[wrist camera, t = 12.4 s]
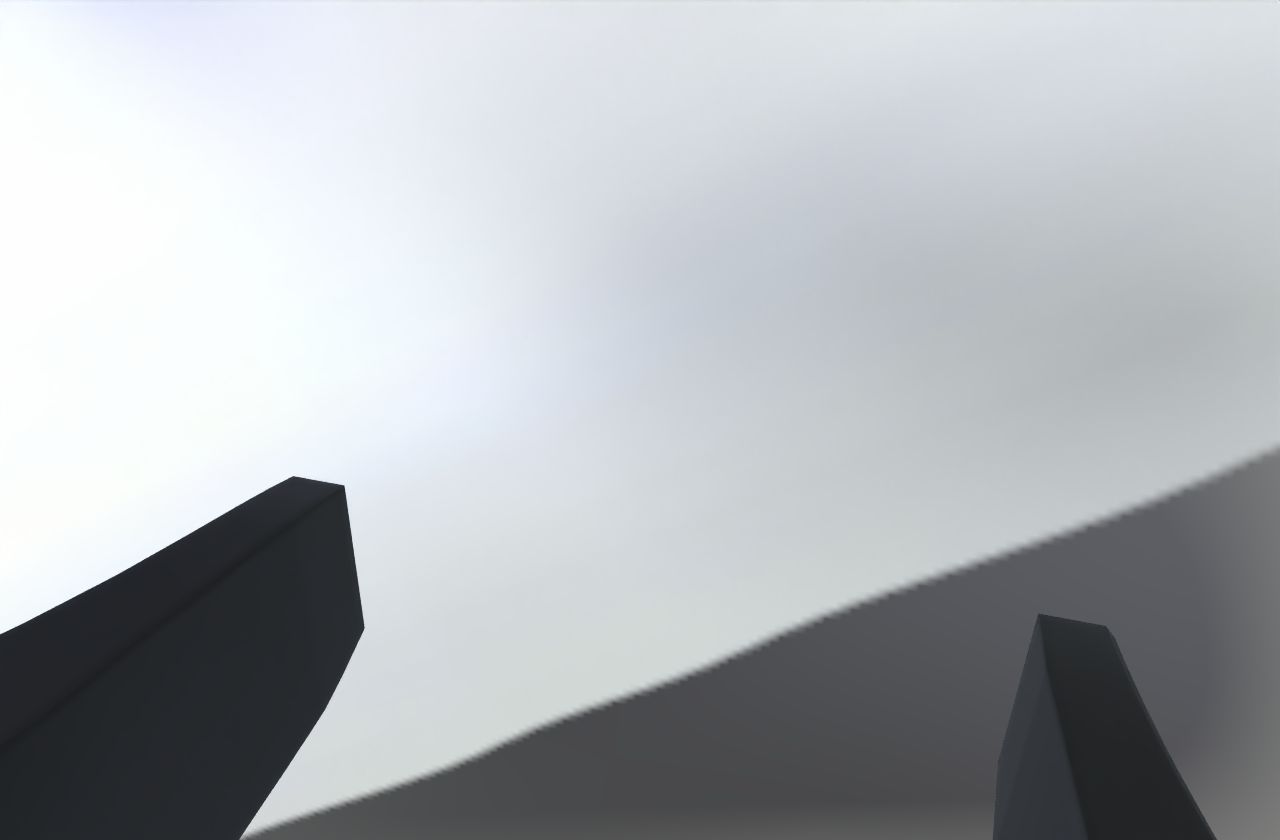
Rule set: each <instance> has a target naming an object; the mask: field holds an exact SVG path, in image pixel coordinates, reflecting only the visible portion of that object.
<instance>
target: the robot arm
mask: <svg viewBox="0 0 1280 840" xmlns="http://www.w3.org/2000/svg"><path fill="white" fill-rule="evenodd" d="M364 628H365V627H364V620H363V613H362V606H361V599H360V592H359V585H358V578H357V571H356V564H355V557H354V550H353V543H352V536H351V529H350V522H349V514H348V507H347V500H346V493H345V486H344V485H338V484H333V483H328V482H322V481H317V480H311V479H306V478H300V477H295V476H293V477H291V478H289V479H287V480H285V481H283V482H281V483H279V484H277V485H275V486H273V487H271V488H269V489H267V490H266V491H264V492H262V493H260V494H258V495H257V496H255V497H253V498H251V499H249V500H248V501H246V502H244V503H242V504H241V505H239V506H237V507H235V508H234V509H232V510H230V511H228V512H227V513H225V514H223V515H221V516H220V517H218V518H216V519H215V520H213V521H211V522H209V523H208V524H206V525H204V526H202V527H201V528H199V529H197V530H195V531H194V532H192V533H190V534H189V535H187V536H185V537H183V538H181V539H180V540H178V541H176V542H174V543H173V544H171V545H169V546H167V547H166V548H164V549H162V550H160V551H159V552H157V553H155V554H153V555H151V556H150V557H148V558H146V559H144V560H143V561H141V562H139V563H137V564H136V565H134V566H132V567H130V568H128V569H127V570H125V571H123V572H121V573H120V574H118V575H116V576H114V577H112V578H110V579H108V580H106V581H104V582H102V583H101V584H99V585H97V586H95V587H93V588H91V589H89V590H87V591H85V592H83V593H81V594H79V595H77V596H75V597H74V598H72V599H70V600H68V601H66V602H64V603H62V604H60V605H58V606H56V607H54V608H52V609H50V610H48V611H46V612H45V613H43V614H41V615H39V616H37V617H35V618H33V619H31V620H29V621H27V622H25V623H23V624H21V625H19V626H17V627H15V628H13V629H11V630H9V631H6V632H4V633H2V634H0V840H239V839H240V837H241V836H242V834H243V833H244V831H245V830H246V828H247V827H248V825H249V824H250V822H251V821H252V819H253V818H254V816H255V815H256V813H257V812H258V810H259V809H260V807H261V806H262V804H263V803H264V801H265V800H266V798H267V797H268V795H269V794H270V793H271V791H272V790H273V788H274V787H275V785H276V784H277V782H278V781H279V779H280V778H281V776H282V775H283V773H284V772H285V770H286V769H287V767H288V766H289V764H290V763H291V761H292V760H293V758H294V756H295V755H296V753H297V752H298V750H299V749H300V747H301V746H302V744H303V743H304V741H305V740H306V738H307V737H308V735H309V734H310V732H311V731H312V729H313V728H314V726H315V724H316V723H317V721H318V720H319V718H320V717H321V715H322V713H323V712H324V710H325V709H326V707H327V705H328V703H329V701H330V699H331V697H332V695H333V693H334V691H335V689H336V687H337V685H338V683H339V681H340V679H341V677H342V675H343V673H344V671H345V669H346V667H347V665H348V663H349V661H350V658H351V656H352V654H353V652H354V650H355V648H356V646H357V643H358V641H359V639H360V637H361V635H362V633H363V631H364ZM993 840H1217V839H1216V837H1215V836H1214V834H1213V832H1212V831H1211V829H1210V827H1209V825H1208V824H1207V822H1206V820H1205V818H1204V816H1203V815H1202V813H1201V811H1200V809H1199V807H1198V806H1197V804H1196V802H1195V801H1194V798H1193V797H1192V795H1191V793H1190V791H1189V789H1188V788H1187V786H1186V784H1185V782H1184V781H1183V779H1182V777H1181V775H1180V773H1179V772H1178V770H1177V768H1176V766H1175V764H1174V762H1173V760H1172V758H1171V757H1170V755H1169V753H1168V751H1167V749H1166V747H1165V745H1164V743H1163V741H1162V739H1161V737H1160V735H1159V733H1158V731H1157V729H1156V727H1155V725H1154V723H1153V721H1152V719H1151V717H1150V715H1149V713H1148V711H1147V709H1146V707H1145V705H1144V703H1143V700H1142V698H1141V696H1140V694H1139V692H1138V690H1137V688H1136V686H1135V684H1134V681H1133V679H1132V677H1131V675H1130V672H1129V670H1128V668H1127V666H1126V663H1125V661H1124V659H1123V656H1122V654H1121V652H1120V649H1119V647H1118V645H1117V642H1116V640H1115V638H1114V636H1113V635H1112V634H1111V632H1110V631H1109V630H1108V629H1107V627H1106V626H1102V625H1096V624H1091V623H1086V622H1081V621H1075V620H1069V619H1064V618H1059V617H1053V616H1048V615H1043V614H1038V617H1037V621H1036V624H1035V628H1034V632H1033V635H1032V639H1031V643H1030V646H1029V651H1028V654H1027V658H1026V661H1025V665H1024V669H1023V672H1022V676H1021V680H1020V684H1019V687H1018V691H1017V695H1016V698H1015V702H1014V706H1013V709H1012V713H1011V717H1010V720H1009V724H1008V728H1007V731H1006V735H1005V739H1004V743H1003V746H1002V750H1001V754H1000V757H999V761H998V773H997V787H996V801H995V814H994V831H993Z"/></svg>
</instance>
